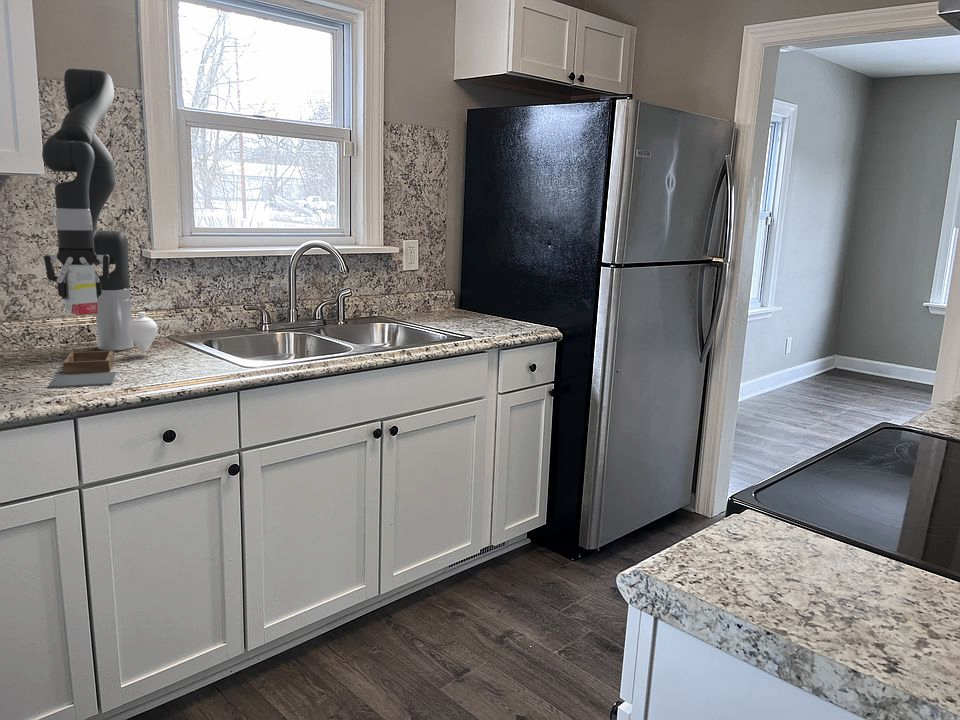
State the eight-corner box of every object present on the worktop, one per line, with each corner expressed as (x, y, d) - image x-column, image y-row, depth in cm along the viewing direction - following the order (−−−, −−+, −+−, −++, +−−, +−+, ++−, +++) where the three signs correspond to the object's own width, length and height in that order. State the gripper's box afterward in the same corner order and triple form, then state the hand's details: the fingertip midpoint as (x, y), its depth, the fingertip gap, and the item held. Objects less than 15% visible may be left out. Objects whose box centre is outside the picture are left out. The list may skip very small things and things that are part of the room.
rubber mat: (56, 376, 182) (56, 374, 182) (115, 373, 187) (115, 371, 186) (48, 388, 171) (47, 386, 171) (111, 384, 176) (111, 383, 176)
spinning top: (142, 351, 213) (139, 309, 211) (165, 353, 211) (162, 311, 209) (122, 356, 206) (119, 313, 203) (146, 358, 204) (143, 314, 201)
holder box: (71, 363, 196) (70, 352, 195) (114, 361, 199) (113, 350, 199) (64, 374, 184) (63, 362, 183) (109, 372, 187) (108, 360, 187)
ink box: (99, 313, 181) (95, 264, 179) (77, 315, 178) (73, 265, 175) (86, 309, 187) (82, 262, 184) (64, 311, 183) (60, 263, 181)
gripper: (110, 227, 184) (114, 295, 187) (43, 227, 179) (49, 296, 182) (107, 229, 177) (112, 299, 181) (37, 228, 172) (44, 300, 175)
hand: (80, 297), depth 181 cm, fingers closed on ink box, 6 cm apart
